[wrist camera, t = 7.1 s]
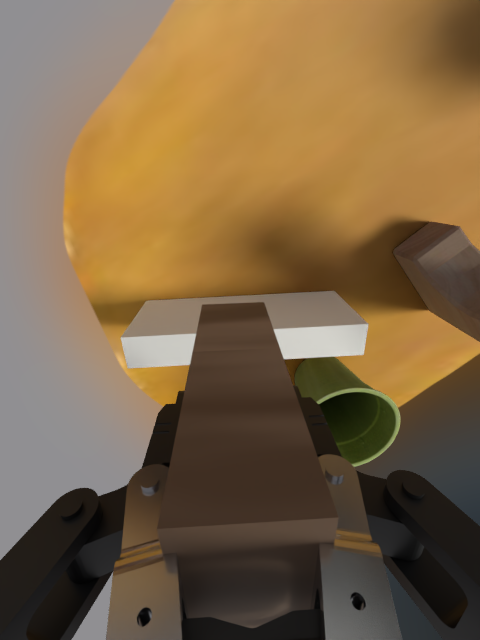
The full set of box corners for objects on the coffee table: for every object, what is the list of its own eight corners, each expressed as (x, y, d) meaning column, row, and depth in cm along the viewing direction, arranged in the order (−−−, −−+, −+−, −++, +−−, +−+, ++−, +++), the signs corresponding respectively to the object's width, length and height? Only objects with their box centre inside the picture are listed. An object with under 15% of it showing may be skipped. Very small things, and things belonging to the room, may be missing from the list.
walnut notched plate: (201, 304, 17) (156, 529, 6) (263, 302, 17) (338, 517, 6) (216, 477, 22) (207, 757, 11) (262, 475, 22) (298, 749, 11)
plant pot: (353, 404, 46) (389, 467, 36) (277, 406, 45) (292, 471, 35) (365, 336, 41) (412, 387, 31) (281, 339, 40) (299, 391, 30)
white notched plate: (146, 300, 37) (120, 337, 28) (334, 290, 38) (368, 323, 29) (151, 325, 39) (127, 368, 30) (331, 315, 39) (363, 354, 30)
